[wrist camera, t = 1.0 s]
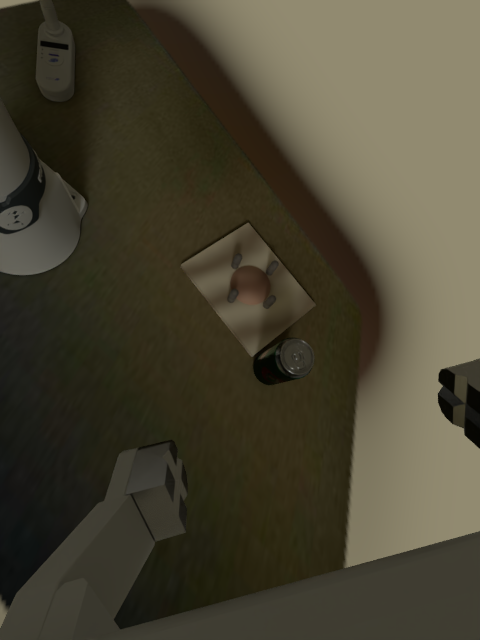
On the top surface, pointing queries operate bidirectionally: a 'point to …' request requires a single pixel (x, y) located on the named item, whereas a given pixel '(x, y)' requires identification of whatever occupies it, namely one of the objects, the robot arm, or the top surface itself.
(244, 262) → the can tray
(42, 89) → the electronic device
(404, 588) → the robot arm
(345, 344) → the top surface
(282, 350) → the soda can
